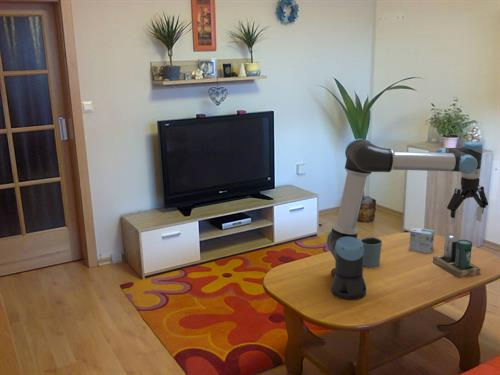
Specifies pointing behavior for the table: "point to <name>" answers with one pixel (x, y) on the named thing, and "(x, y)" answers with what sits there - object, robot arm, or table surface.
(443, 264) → the rectangular frame
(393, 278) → the table surface
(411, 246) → the light bulb box
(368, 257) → the grey cup
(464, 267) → the can
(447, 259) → the grey post
